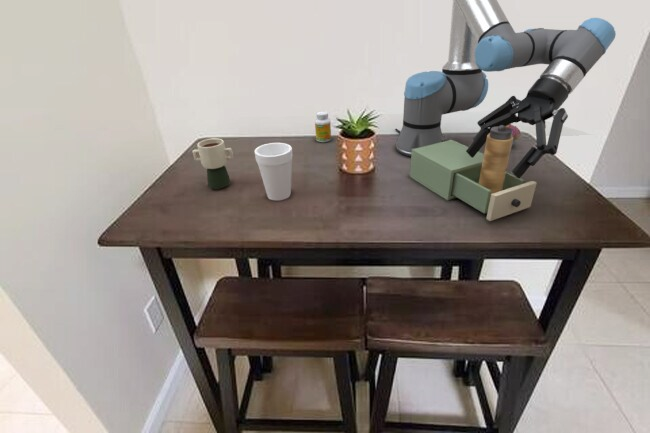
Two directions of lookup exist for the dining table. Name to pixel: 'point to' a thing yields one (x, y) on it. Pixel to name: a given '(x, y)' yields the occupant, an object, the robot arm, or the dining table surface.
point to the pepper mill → (496, 158)
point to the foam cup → (275, 169)
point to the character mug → (214, 161)
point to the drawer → (502, 202)
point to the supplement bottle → (323, 127)
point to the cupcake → (514, 132)
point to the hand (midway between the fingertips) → (491, 164)
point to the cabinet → (441, 165)
